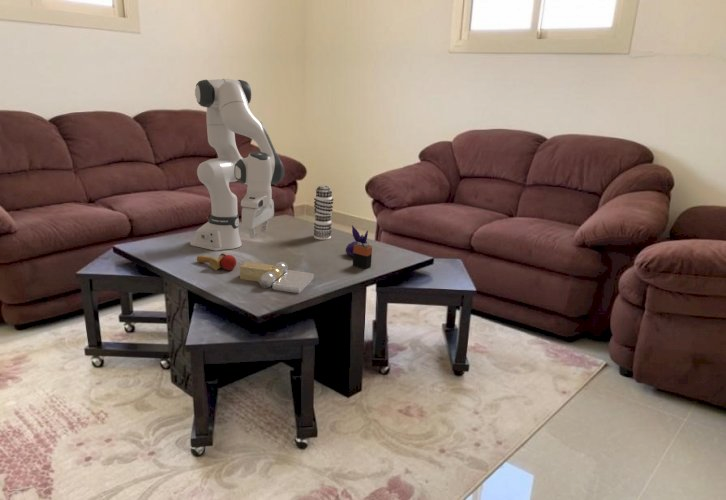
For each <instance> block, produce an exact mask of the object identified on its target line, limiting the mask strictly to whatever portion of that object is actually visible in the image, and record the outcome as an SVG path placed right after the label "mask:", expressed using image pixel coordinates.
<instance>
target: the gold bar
mask: <svg viewBox="0 0 726 500" xmlns="http://www.w3.org/2000/svg"><path fill="white" fill-rule="evenodd" d="M268 271H270V272H273V273H274V274H275V275H276V281H277V280H278V279H279V278H280V277H281V276H282V275H283V274H284V272H283V269H282V268H281V267H279V266H275V265H274V264H266V263H260V262H259V263H258V262H252V261H246V262H244V263H243V264H242V265H240V266H239V279H241V280H247V281H253V282H258V283H259V278H260V277H261V276H262V275H263V274H265V273H266V272H268Z"/></svg>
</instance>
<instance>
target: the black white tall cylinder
mask: <svg viewBox="0 0 726 500" xmlns="http://www.w3.org/2000/svg"><path fill="white" fill-rule="evenodd" d="M315 191H316V192H315V198H313V199H314V202H313V203H314V205H313V207H314V209H313V210H314V215H315V216H314V223H313V225H314V226H313V227H314V228H313V238H314V239H316V240H321V241H322V240H331V238H332V215H333V213H332V211H333V208H334V206H333V204H334V202H333V201H334V198H333V189H332V188H331V186H327V185H318V186H317V188H315Z"/></svg>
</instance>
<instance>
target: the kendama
mask: <svg viewBox="0 0 726 500" xmlns="http://www.w3.org/2000/svg"><path fill="white" fill-rule="evenodd" d="M196 262H197V263H201V264H202V263H207V264H209V266H210V268H212V269H213V270H215V271H218V270H219V269H221V268H223V269H224V270H226V271H232V270H234V269H235V268H236V265H237V259H236V258H235V256H233V255H232V254H227V253H226V252H223V253H221V254H219V257H218V258H217V257H213V256H212V257H211V256H205V255H197V256H196Z"/></svg>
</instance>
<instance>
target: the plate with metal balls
mask: <svg viewBox="0 0 726 500" xmlns="http://www.w3.org/2000/svg"><path fill="white" fill-rule="evenodd" d="M274 266H279V267H281V268H282V269H283V272H284V274H283V275H282V276H281V277H280V278H279V279H278V280H277V281H276V275H275V274H274V273H273V272H270V271H268V272H266V273H265V274H263V275H262V276H261V277H260V278H259V282H258V283H259V285H260V287H262V288H264V289H269V288H271V286H272V290H275V291H283V292H288V293H295V294H300V293H301V292H302V291H303V290H304V289H305V288H306V287H307V286H308V285H309V283H311V281H313V280H314V277H315V276H314V275H315V274H314V273H312V272H306V271H299V270H291V269H289V266H288V264H287V263H286V262H285V261H278V262H276V264H275V265H274Z"/></svg>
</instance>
